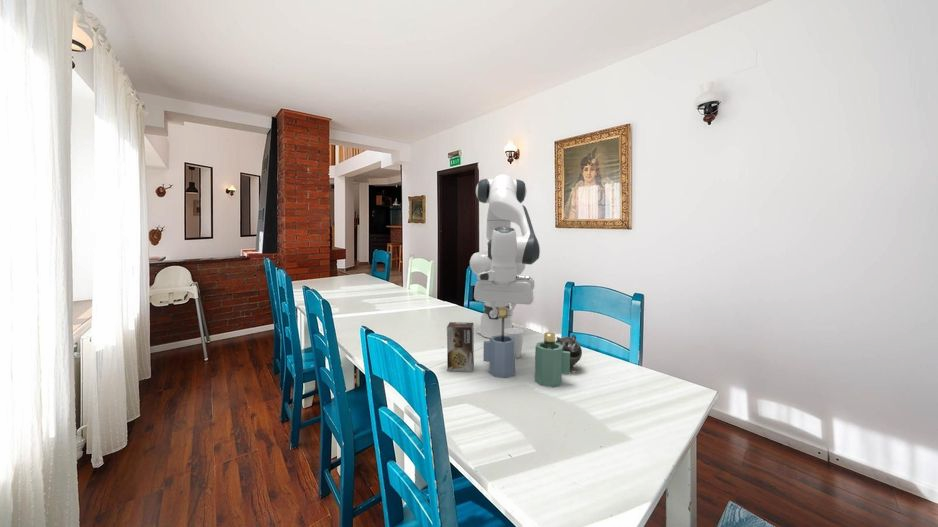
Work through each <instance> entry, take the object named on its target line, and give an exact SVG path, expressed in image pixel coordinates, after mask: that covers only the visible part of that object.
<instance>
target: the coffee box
mask: <svg viewBox="0 0 938 527" xmlns="http://www.w3.org/2000/svg"><path fill="white" fill-rule="evenodd" d="M474 326H475V325H474V322H466V321H465V322H462V321H460V322H459V321H457V322H456V321H454V322H453V321H449V322H448V324H447V326H446V347H447V348H446V349H447V351H446V352H447V353H446V354H447V358H446V360H447V361H446V362H447V368H446V369H447V371H448V372H469V373H470V372H471V373H472V372H474V368H475V364H474V362H475V360H474V359H475V357H474V354H475V352H474V351H475V350H474V346H475V345H474V344H475V341H474V340H475V339H474V329H475V328H474Z"/></svg>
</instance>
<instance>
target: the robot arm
mask: <svg viewBox="0 0 938 527" xmlns="http://www.w3.org/2000/svg"><path fill="white" fill-rule="evenodd" d="M475 195H476V198H477V200H478V201H479V202H480V203H481V204H488V207H487V208H488V209H487V215H486V216H487V217H486V232H485V233H486V239H487V240H488V242H487V243H486V244H487V251H486V250H485V251H478V252H475V253H473V254H472V255H471V257H470V260H469V267H470V269H471V271H472V272H473V274H474V275H476V279H477V281H476V282H475V283H474V290H473V291H474V292H473V299H474V300H475V301H476V302H484V304H483V313H482V315H481V316H480V321H479V322H480V323H479V329H478V330H476V334H479V335H481V336H482V337H484V338H488V339H490V338H491V337H492V336H498V335H501V334H502V318H499V317H498V308H500V307H506V308H508V311H507V313H508V314H507V316H508V318H504V329H507V328H517V326H516V325H514V324H513V323H512V322H513V315H514V314H513V312H514V310H515V308H516V306H517V305H532V303H533V302H534V289H535V280H534V279H533V277H530V276H526V275H525V276H523V275H521V274H522V273H523V272H524V270H525V268H526V265H533V264H534V263H535V262H536V261H538V260H539V259H540V254H541V248H540V243H539V240H538V239H537V236H536V232H535V231H534V228H533V227H534V226H533V224H532V221H531V217H530V215H529V212H528V210H527V208H526V206H525V205H523V204H522V203H523V202H524V201H525V198H526V196H527V185H526V183H525V181H523V180H521V179H518V178H516V179H513V178H512V177H511V176H509V175H507V174H498V175H496V176H495V177H494V178H489V179H488V178H483V179H480V180H479V181H478V183H477V184H476V187H475ZM512 223H513V224H516V225H518V226H519V229H520V232H521V235H522V236H517V232H516V229H515V228H513V227H512ZM510 308H511V309H510Z"/></svg>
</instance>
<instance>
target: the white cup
mask: <svg viewBox="0 0 938 527" xmlns="http://www.w3.org/2000/svg"><path fill="white" fill-rule="evenodd" d="M504 335H505V336H511V337H513V338H515V339H516V353H515V359H520V358H521V357H522V351H523V344H524V343H523V341H524V330H523V329H521V328H517V327H516V328H507V329H504Z"/></svg>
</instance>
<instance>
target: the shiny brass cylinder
mask: <svg viewBox="0 0 938 527" xmlns="http://www.w3.org/2000/svg"><path fill="white" fill-rule="evenodd" d="M543 334H544V335H543V336H544V338H543V342H544V343H545V344H548V349H551V345H553V344H555V341H556V334H555V333H554V332H549V331H547V332H544V333H543Z"/></svg>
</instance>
